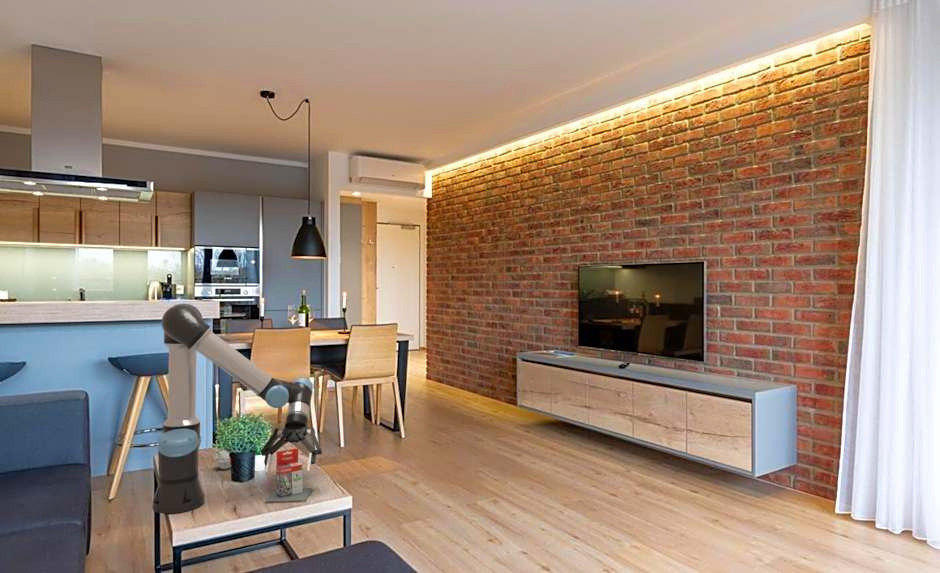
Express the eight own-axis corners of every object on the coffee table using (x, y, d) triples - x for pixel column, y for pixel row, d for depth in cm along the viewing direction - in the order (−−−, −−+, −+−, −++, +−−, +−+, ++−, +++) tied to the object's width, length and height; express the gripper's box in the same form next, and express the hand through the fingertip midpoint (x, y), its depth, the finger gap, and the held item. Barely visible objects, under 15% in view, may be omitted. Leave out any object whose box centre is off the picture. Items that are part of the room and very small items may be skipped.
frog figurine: (220, 466, 237) (219, 448, 237) (237, 466, 236) (236, 449, 236) (211, 471, 231) (211, 453, 231) (229, 471, 230) (229, 453, 230)
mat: (265, 503, 197) (265, 501, 197) (274, 490, 209) (274, 488, 209) (305, 501, 198) (305, 500, 198) (312, 489, 210) (312, 487, 210)
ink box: (302, 493, 204) (302, 450, 204) (279, 498, 200) (279, 454, 200) (299, 490, 207) (298, 447, 207) (275, 495, 203) (275, 451, 203)
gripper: (333, 422, 219) (327, 477, 205) (263, 424, 218) (252, 479, 203) (331, 411, 214) (324, 466, 199) (259, 412, 212) (247, 468, 198)
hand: (287, 473), depth 201 cm, fingers open, 13 cm apart
